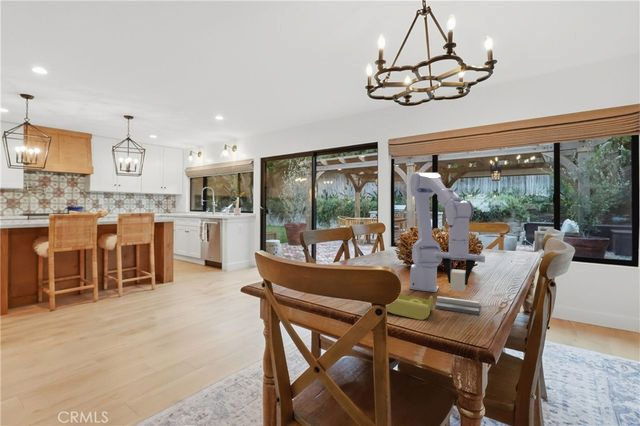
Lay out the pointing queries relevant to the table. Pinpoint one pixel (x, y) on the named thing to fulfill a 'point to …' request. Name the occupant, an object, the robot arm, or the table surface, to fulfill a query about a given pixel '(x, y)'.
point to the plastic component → (411, 307)
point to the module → (458, 280)
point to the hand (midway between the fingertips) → (458, 283)
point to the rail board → (457, 305)
